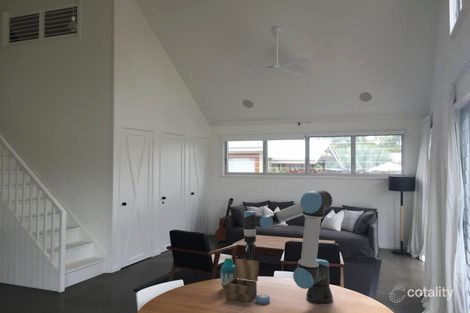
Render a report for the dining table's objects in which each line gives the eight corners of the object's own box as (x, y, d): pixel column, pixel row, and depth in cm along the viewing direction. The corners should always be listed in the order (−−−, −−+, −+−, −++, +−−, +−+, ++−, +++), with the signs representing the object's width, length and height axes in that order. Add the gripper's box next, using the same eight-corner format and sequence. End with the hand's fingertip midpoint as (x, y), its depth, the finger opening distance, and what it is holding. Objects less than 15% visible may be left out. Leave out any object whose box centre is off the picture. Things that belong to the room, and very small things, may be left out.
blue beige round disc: (271, 300, 212) (271, 295, 212) (266, 305, 205) (266, 299, 205) (259, 298, 216) (258, 293, 216) (253, 303, 209) (253, 297, 209)
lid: (256, 281, 218) (257, 281, 220) (257, 259, 221) (259, 259, 223) (232, 278, 225) (234, 278, 227) (234, 257, 228) (236, 257, 230)
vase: (224, 292, 227) (223, 261, 227) (218, 287, 236) (218, 258, 237) (239, 290, 230) (239, 260, 231) (233, 285, 240) (233, 256, 241)
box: (256, 296, 219) (256, 281, 220) (249, 302, 209) (249, 286, 210) (234, 293, 226) (234, 278, 226) (226, 298, 216) (226, 283, 216)
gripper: (248, 233, 239) (249, 269, 238) (240, 236, 227) (240, 274, 226) (259, 234, 235) (259, 270, 235) (251, 237, 224) (251, 276, 223)
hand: (250, 272), depth 230 cm, fingers closed
